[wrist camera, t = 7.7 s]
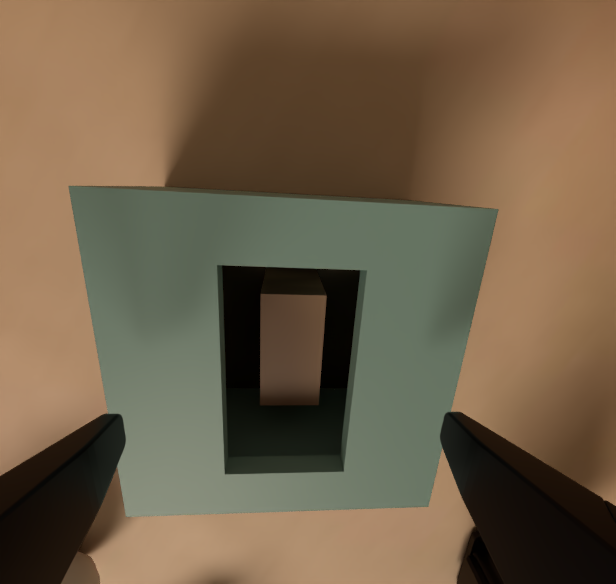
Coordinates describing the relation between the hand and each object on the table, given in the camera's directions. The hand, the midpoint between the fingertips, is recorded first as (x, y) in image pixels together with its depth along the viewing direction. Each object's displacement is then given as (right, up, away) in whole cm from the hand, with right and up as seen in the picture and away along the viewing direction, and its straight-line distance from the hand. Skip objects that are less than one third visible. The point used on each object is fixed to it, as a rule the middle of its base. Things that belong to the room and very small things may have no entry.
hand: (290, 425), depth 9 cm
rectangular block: (-1, +3, +9) cm, 9 cm away
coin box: (-1, +3, +9) cm, 9 cm away
